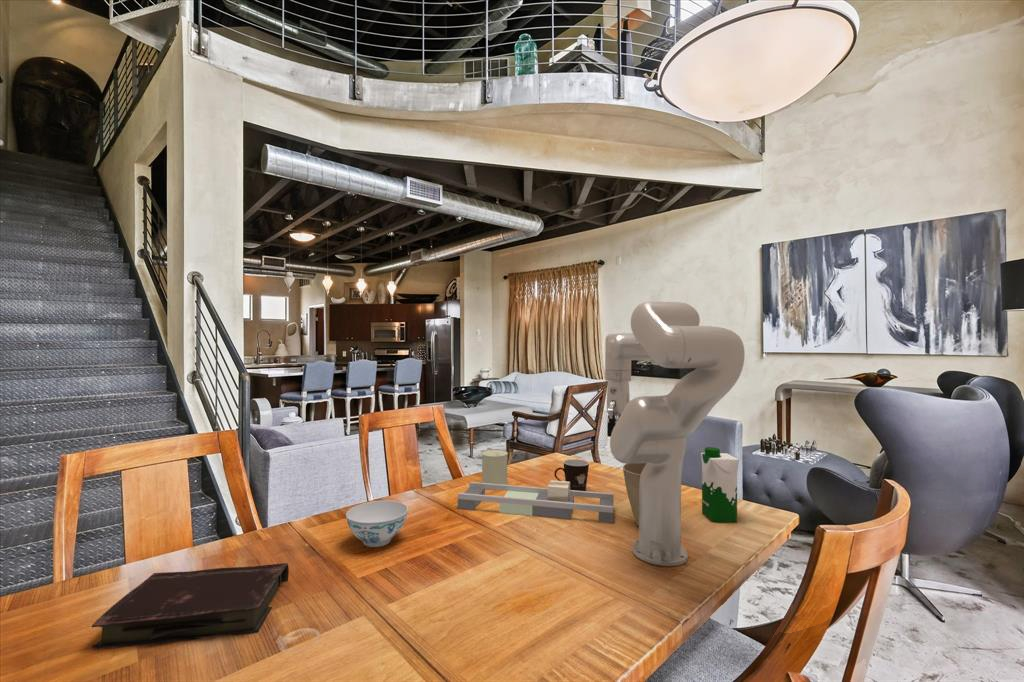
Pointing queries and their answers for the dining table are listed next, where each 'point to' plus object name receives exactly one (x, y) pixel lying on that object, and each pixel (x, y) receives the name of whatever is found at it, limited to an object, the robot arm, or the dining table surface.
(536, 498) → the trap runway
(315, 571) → the dining table surface
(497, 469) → the can
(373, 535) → the chinaware
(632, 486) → the plant pot
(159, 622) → the diary
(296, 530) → the dining table surface
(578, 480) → the coffee mug
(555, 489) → the block
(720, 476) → the milk carton
